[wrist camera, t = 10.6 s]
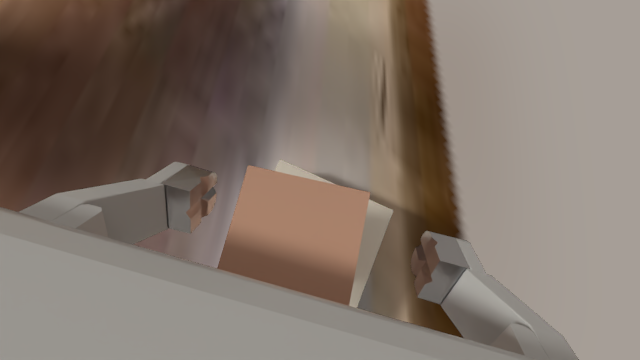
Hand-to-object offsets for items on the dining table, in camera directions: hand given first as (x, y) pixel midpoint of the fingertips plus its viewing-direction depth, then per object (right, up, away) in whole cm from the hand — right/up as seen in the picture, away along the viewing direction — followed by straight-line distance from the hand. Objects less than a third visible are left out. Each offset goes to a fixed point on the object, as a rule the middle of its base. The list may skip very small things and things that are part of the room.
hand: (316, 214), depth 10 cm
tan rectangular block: (-1, -3, +8) cm, 8 cm away
